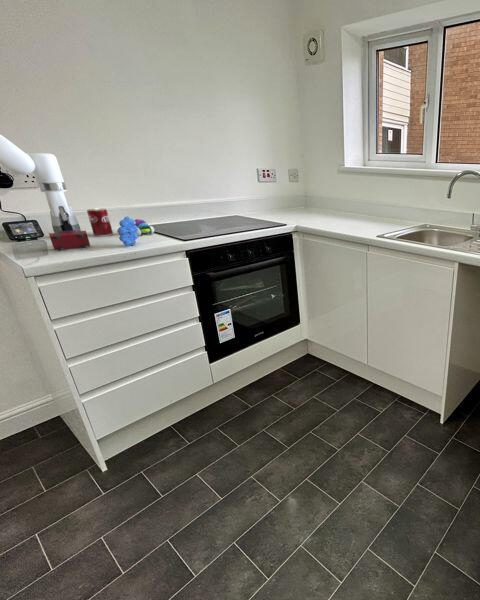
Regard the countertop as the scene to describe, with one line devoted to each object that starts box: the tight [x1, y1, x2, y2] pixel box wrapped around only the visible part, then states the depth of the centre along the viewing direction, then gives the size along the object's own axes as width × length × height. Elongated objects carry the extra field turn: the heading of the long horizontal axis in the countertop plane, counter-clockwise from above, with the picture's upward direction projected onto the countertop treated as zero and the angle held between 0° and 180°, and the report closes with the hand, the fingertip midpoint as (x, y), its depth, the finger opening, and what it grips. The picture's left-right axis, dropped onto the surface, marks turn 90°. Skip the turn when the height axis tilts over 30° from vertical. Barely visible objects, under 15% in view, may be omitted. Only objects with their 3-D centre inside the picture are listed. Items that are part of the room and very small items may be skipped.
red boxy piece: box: [48, 230, 91, 251], centre depth 141 cm, size 11×5×6 cm, turn 135°
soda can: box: [86, 208, 114, 237], centre depth 165 cm, size 7×7×12 cm
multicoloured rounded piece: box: [134, 218, 155, 237], centre depth 171 cm, size 8×10×7 cm
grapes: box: [116, 216, 139, 247], centre depth 148 cm, size 12×7×12 cm, turn 7°
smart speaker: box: [49, 204, 82, 233], centre depth 159 cm, size 10×9×14 cm
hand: (68, 234), depth 143 cm, fingers closed
